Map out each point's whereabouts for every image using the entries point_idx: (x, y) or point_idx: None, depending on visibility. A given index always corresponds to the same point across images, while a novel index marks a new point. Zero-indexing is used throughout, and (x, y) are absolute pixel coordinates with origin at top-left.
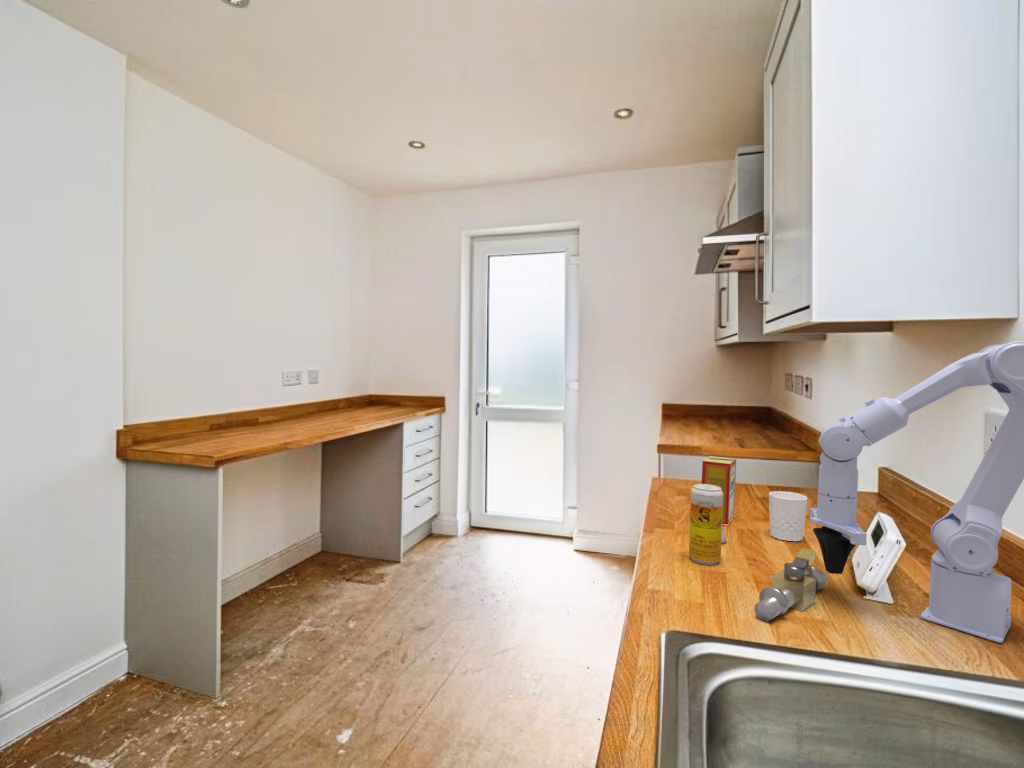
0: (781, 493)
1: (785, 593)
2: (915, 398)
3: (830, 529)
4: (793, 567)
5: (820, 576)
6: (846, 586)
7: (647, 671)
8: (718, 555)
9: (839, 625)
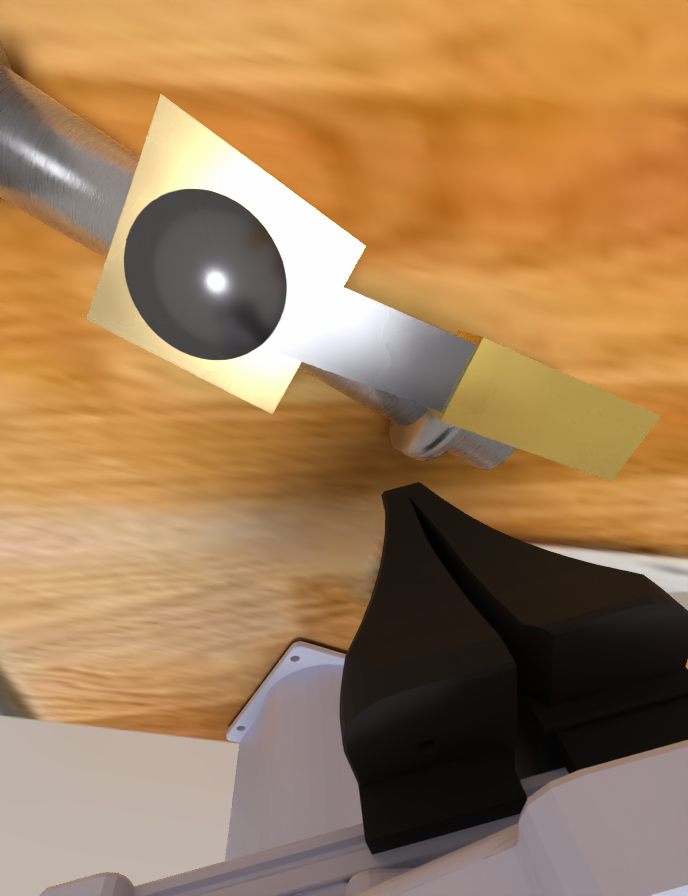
0: None
1: (52, 196)
2: None
3: (566, 757)
4: (163, 265)
5: (405, 445)
6: (485, 512)
7: None
8: None
9: (92, 430)
